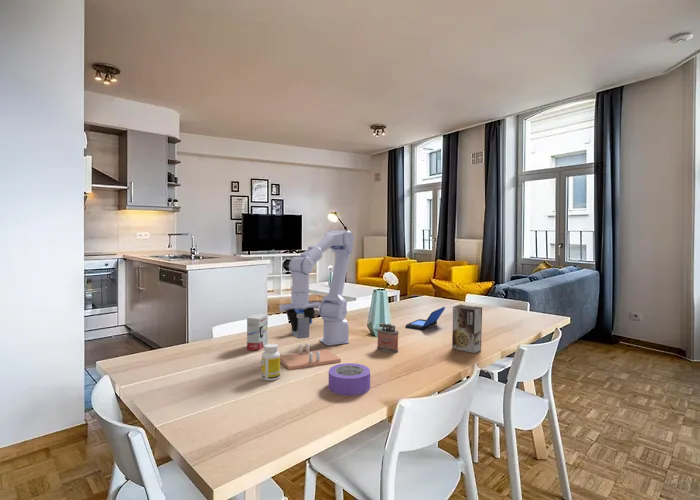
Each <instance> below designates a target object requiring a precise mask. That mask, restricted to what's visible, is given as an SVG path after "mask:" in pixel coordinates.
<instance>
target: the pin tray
mask: <svg viewBox="0 0 700 500" xmlns="http://www.w3.org/2000/svg"><path fill="white" fill-rule="evenodd" d="M310 345H311V344H310V343H306V344H305V351H303V344H299V345H298V352H296V353H287V354H280V363H281V364H283V366H285V367H286V368H287V369H288V371H291V370H296V369H304V368H309V367H317V366H321V365H322V366H323V365H328V364H335V363H336V364H337V363H341V361H342V359H341V358H340V357H339V356H338V355H336V354H334V353H333V352H331V351H330V350H329V349H327V348H324V349H318V350H316V349H315V350H310Z"/></svg>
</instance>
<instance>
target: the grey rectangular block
mask: <svg viewBox="0 0 700 500" xmlns="http://www.w3.org/2000/svg"><path fill="white" fill-rule="evenodd" d="M309 326H310V325H309V317H308V316H306V315H304V314H303V313H301V314H297V317H296V331H293V330H292V329H291V336H294V337H295V338H297V339H306V338H307V339H308V338H310V328H309Z"/></svg>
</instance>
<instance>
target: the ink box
mask: <svg viewBox="0 0 700 500" xmlns="http://www.w3.org/2000/svg"><path fill="white" fill-rule="evenodd" d="M268 315H269V314H265V313H254V314H253V315H250V316H248V317H247V318H246V350H247V351H260V350H262V349H264V345H266V344H269V341H268V339H269V335H268V334H269V332H268V331H269V330H268V329H269V327H268V326H269V322H268V320H269V317H268Z"/></svg>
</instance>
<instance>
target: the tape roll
mask: <svg viewBox="0 0 700 500" xmlns="http://www.w3.org/2000/svg"><path fill="white" fill-rule="evenodd" d="M328 390H329V391H331V393H333V394H336V395H339V396H349V397H350V396H351V397H352V396H360V395H363V394H366V393H368V392H369V391H370V390H371V369H370V368H369V367H368V366H366V365H364V364H360V363H354V362H351V363H350V362H346V363H339V364H336V365H333V366H331V367H330V368H329V369H328Z"/></svg>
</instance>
